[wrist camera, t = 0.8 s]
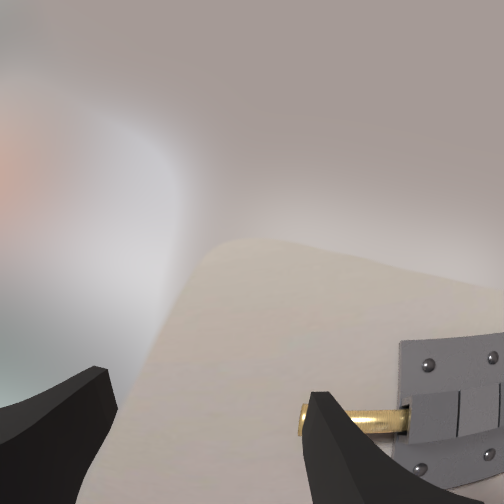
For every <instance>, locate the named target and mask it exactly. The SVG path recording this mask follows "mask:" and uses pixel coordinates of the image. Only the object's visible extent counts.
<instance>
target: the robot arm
mask: <svg viewBox="0 0 504 504" xmlns="http://www.w3.org/2000/svg"><path fill="white" fill-rule="evenodd" d="M117 410H118V407H117V404H116V400H115V396H114V393H113V389H112V386H111V381H110V377H109V373H108V369H105V368H101V367H96V366H92V367H91V368H88V369H86V370H85V371H82V372H80V373H79V374H77V375H75V376H73V377H71V378H69V379H68V380H66V381H64V382H62V383H60V384H58V385H56V386H54V387H53V388H50V389H48V390H46V391H44V392H42V393H40V394H38V395H35V396H33V397H31V398H29V399H26V400H24V401H22V402H19V403H16V404H13V405H10V406H6V407H3V408H0V504H75V503H76V499H77V496H78V493H79V490H80V487H81V485H82V482H83V479H84V477H85V475H86V473H87V470H88V468H89V467H90V465H91V463H92V461H93V460H94V458H95V456H96V454H97V452H98V451H99V449H100V447H101V445H102V443H103V442H104V440H105V438H106V436H107V434H108V433H109V431H110V429H111V426H112V424H113V421H114V418H115V416H116V413H117ZM302 444H303V456H304V461H305V466H306V471H307V476H308V481H309V486H310V491H311V496H312V501H313V504H484V502H482V501H478V500H474V499H470V498H467V497H463V496H460V495H457V494H454V493H451V492H449V491H446V490H444V489H442V488H439V487H437V486H435V485H433V484H431V483H429V482H427V481H425V480H423V479H422V478H420V477H418V476H416V475H415V474H413V473H411V472H410V471H408V470H407V469H405V468H404V467H402V466H401V465H400V464H398V463H397V462H396V461H394V460H393V459H392V458H390V457H389V456H388V455H387V454H386V453H384V452H383V451H382V450H381V449H380V448H379V447H378V446H377V445H376V444H375V443H373V442H372V441H371V440H370V439H369V438H368V437H367V436H366V435H365V433H364V432H363V431H362V430H361V429H360V428H359V427H358V426H357V425H356V424H355V423H354V421H353V420H352V419H351V418H350V417H349V416H348V414H347V413H346V412H345V411H344V410H343V408H342V407H341V406H340V405H339V403H338V402H337V401H336V400H335V398H334V397H333V396H332V395H331V394H330V392H311V396H310V400H309V404H308V408H307V412H306V416H305V420H304V424H303V428H302Z"/></svg>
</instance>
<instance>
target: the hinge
mask: <svg viewBox="0 0 504 504" xmlns="http://www.w3.org/2000/svg"><path fill="white" fill-rule="evenodd" d="M398 409H409V418H408V429H407V431H404V432H395V434H394V442H393V449H392V456H391V458H392V459H393V460H394V461H396V462H397V463H398V464H400V465H401V466H402V467H404V468H405V469H407V470H408V471H410V472H411V473H413V474H415V475H416V476H418V477H420V478H422V479H423V480H425V481H427V482H429V483H431V484H433V485H435V486H437V487H439V488H442V489H448V488H452V487H456V486H460V485H464V484H468V483H471V482H475V481H478V480H482V479H485V478H488V477H491V476H494V475H497V474H499V473H502V472H504V332H503V333H495V334H487V335H478V336H468V337H457V338H444V339H428V340H405V341H401V342H400V343H399V383H398V401H397V410H398Z"/></svg>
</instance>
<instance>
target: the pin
mask: <svg viewBox="0 0 504 504" xmlns="http://www.w3.org/2000/svg"><path fill="white" fill-rule="evenodd" d="M307 408H308V404H303V405H302V409H301V414H300V420H299V428H298V436H302V428H303V424H304V420H305V416H306V412H307ZM345 412H346V413H347V414H348V416H349V417H350V418H351V419H352V420H353V421H354V423H355V424H356V425H357V426H358V427H359V428H360V429H361V430H362V431H363V432H364V433H390V432H404V431H407V429H408V418H409V409H398V410H374V411H345Z"/></svg>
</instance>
